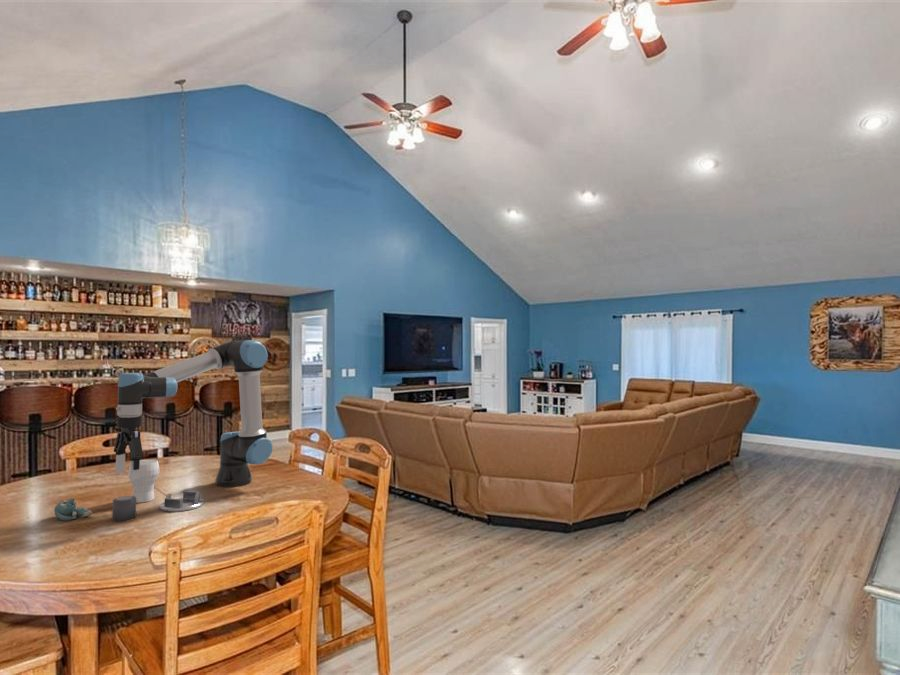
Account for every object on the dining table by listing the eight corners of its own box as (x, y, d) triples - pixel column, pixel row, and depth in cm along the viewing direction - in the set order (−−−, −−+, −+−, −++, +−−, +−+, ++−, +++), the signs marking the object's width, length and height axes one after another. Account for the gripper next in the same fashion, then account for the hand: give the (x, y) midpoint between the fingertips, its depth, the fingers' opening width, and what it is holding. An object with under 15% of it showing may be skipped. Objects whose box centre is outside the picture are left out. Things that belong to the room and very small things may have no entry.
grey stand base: (153, 506, 196) (153, 495, 196) (193, 497, 207) (193, 487, 207) (170, 514, 186) (170, 503, 186) (211, 505, 198) (211, 494, 198)
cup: (164, 497, 207) (165, 460, 207) (141, 505, 197) (142, 466, 197) (145, 495, 210) (146, 458, 210) (121, 502, 200) (122, 463, 200)
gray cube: (109, 518, 181) (109, 497, 181) (131, 514, 186) (131, 493, 186) (116, 523, 176) (117, 501, 176) (138, 518, 182) (139, 497, 182)
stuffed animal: (81, 506, 177) (47, 500, 177) (77, 527, 177) (42, 520, 177) (102, 497, 188) (69, 491, 188) (97, 517, 188) (65, 510, 187)
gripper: (104, 413, 187) (102, 471, 187) (131, 420, 172) (129, 483, 171) (127, 412, 193) (125, 468, 192) (155, 418, 177) (153, 479, 177)
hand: (127, 475), depth 182 cm, fingers open, 13 cm apart
